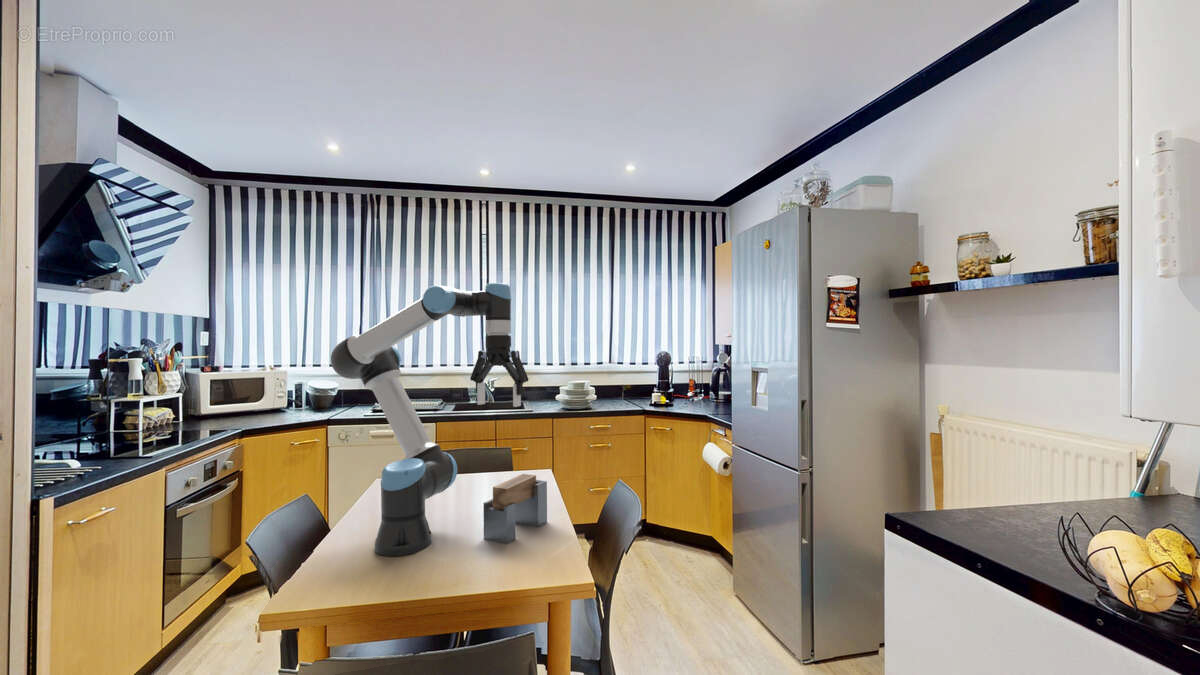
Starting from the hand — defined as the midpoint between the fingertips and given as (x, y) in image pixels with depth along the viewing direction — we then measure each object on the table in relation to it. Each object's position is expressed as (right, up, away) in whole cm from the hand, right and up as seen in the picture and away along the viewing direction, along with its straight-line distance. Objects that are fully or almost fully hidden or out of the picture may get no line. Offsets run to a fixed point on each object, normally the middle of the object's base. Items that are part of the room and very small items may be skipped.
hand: (498, 405), depth 146 cm
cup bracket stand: (+4, -39, +3) cm, 39 cm away
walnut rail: (+4, -30, +3) cm, 30 cm away
